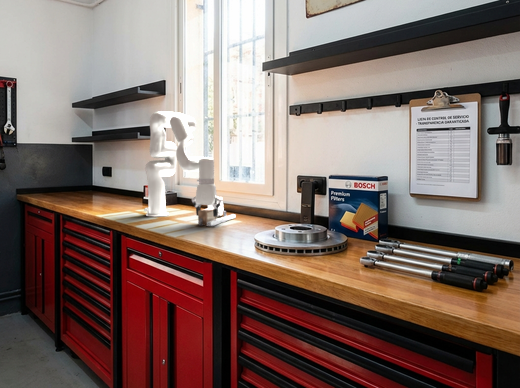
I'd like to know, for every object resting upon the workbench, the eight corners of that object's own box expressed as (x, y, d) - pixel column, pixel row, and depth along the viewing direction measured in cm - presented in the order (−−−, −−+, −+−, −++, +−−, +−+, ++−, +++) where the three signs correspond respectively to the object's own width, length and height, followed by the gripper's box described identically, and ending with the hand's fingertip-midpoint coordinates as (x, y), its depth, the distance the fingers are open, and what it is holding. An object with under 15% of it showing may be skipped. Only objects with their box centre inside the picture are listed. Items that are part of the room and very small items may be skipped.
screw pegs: (198, 225, 201) (198, 218, 201) (224, 217, 226) (224, 211, 226) (201, 225, 200) (201, 218, 200) (226, 217, 226) (226, 211, 225)
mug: (229, 216, 230) (228, 198, 229) (216, 218, 224) (216, 199, 223) (217, 214, 239) (217, 196, 238) (205, 215, 234) (204, 197, 233)
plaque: (198, 224, 204) (198, 210, 203) (208, 221, 213) (208, 208, 212) (206, 225, 202) (206, 211, 201) (216, 222, 211) (215, 208, 210)
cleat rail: (207, 226, 199) (207, 222, 199) (232, 217, 225) (232, 214, 225) (210, 226, 198) (210, 222, 198) (235, 217, 224) (235, 214, 224)
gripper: (187, 182, 205) (188, 215, 207) (218, 183, 199) (218, 217, 200) (195, 181, 212) (196, 213, 214) (225, 182, 206) (225, 215, 207)
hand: (207, 215), depth 207 cm, fingers open, 9 cm apart
